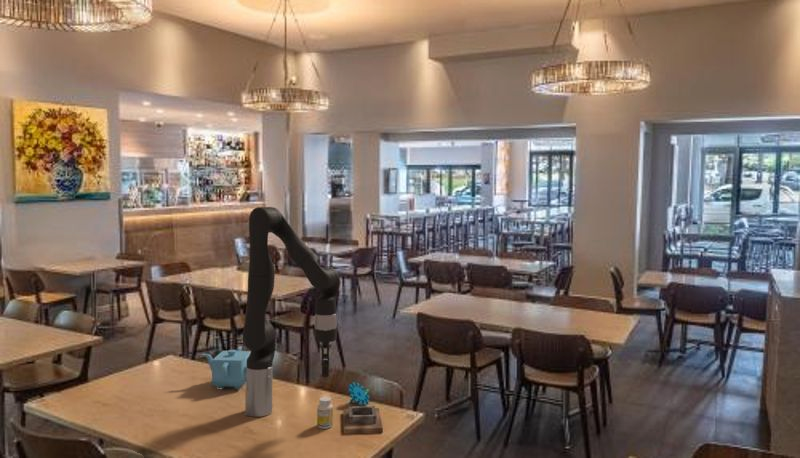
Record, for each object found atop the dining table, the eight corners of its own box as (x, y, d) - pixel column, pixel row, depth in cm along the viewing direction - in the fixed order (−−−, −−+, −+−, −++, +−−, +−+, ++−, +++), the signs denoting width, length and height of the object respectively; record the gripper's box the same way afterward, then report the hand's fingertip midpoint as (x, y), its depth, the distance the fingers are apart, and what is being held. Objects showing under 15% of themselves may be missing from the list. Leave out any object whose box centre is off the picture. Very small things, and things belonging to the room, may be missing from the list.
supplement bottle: (324, 430, 197) (324, 402, 197) (313, 426, 201) (314, 399, 200) (335, 425, 201) (336, 398, 201) (325, 421, 205) (325, 395, 204)
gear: (358, 405, 216) (345, 382, 220) (348, 414, 218) (336, 391, 223) (376, 401, 225) (364, 379, 229) (367, 409, 227) (354, 387, 232)
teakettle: (222, 396, 228) (222, 359, 227) (200, 384, 242) (200, 349, 241) (264, 385, 242) (264, 350, 241) (241, 374, 255) (241, 341, 254)
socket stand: (344, 433, 195) (344, 421, 195) (343, 413, 213) (343, 402, 212) (382, 432, 196) (382, 420, 196) (378, 412, 214) (378, 401, 214)
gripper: (315, 321, 205) (315, 366, 206) (313, 331, 191) (313, 379, 192) (336, 321, 206) (336, 366, 207) (336, 331, 192) (336, 379, 193)
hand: (325, 372), depth 200 cm, fingers open, 8 cm apart
